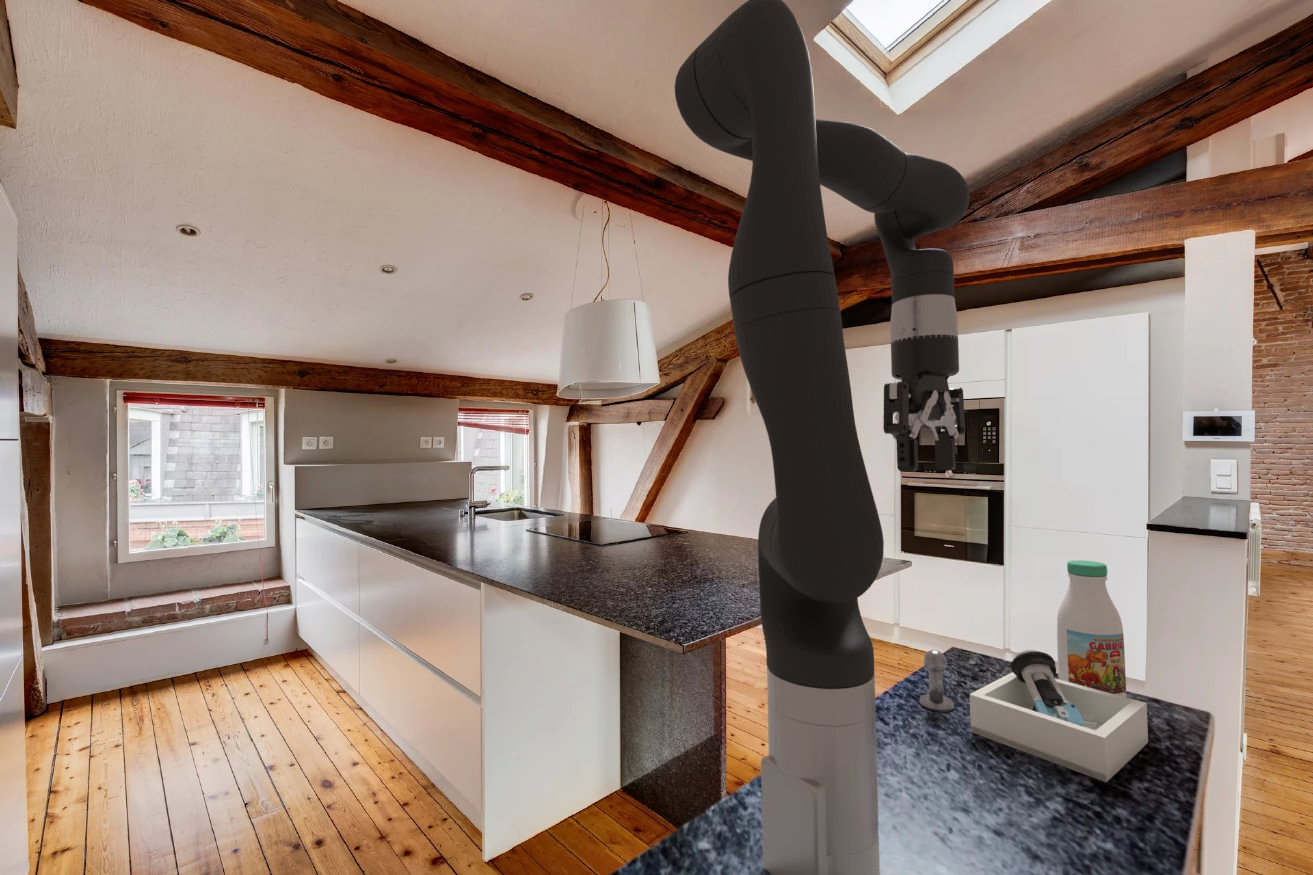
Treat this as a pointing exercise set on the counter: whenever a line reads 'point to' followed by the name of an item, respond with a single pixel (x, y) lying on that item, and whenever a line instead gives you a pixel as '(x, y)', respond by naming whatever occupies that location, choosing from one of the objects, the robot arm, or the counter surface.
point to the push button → (1046, 687)
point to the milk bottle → (1090, 631)
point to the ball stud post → (936, 683)
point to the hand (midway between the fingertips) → (927, 470)
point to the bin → (1062, 726)
